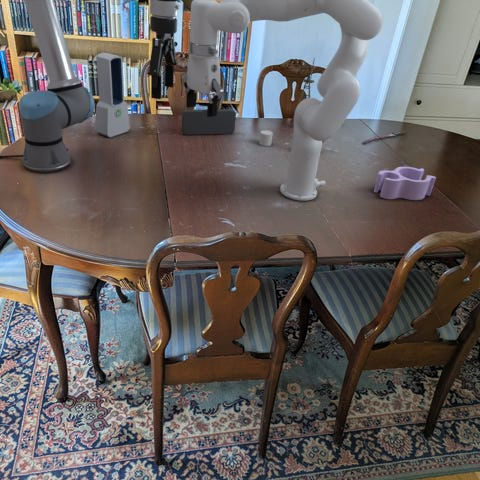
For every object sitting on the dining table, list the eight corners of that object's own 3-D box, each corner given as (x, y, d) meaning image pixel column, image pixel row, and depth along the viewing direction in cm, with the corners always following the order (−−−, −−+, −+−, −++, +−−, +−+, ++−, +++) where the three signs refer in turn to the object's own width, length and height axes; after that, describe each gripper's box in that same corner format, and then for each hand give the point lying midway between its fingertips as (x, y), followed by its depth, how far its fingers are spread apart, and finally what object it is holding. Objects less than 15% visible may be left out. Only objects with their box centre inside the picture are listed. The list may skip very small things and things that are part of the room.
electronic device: (108, 138, 183) (103, 58, 167) (94, 133, 186) (88, 54, 170) (130, 130, 192) (127, 54, 176) (117, 126, 195) (113, 50, 179)
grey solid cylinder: (272, 146, 193) (274, 134, 190) (260, 145, 192) (262, 134, 189) (269, 141, 197) (270, 130, 195) (257, 141, 196) (259, 130, 194)
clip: (387, 202, 158) (392, 184, 155) (367, 186, 168) (372, 168, 164) (434, 198, 165) (441, 180, 161) (413, 182, 174) (419, 165, 171)
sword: (401, 132, 223) (402, 129, 222) (407, 134, 221) (407, 131, 220) (358, 143, 207) (358, 140, 206) (363, 145, 205) (364, 143, 204)
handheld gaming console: (232, 131, 203) (234, 108, 197) (234, 133, 201) (236, 110, 195) (181, 132, 196) (181, 109, 190) (182, 135, 194) (183, 111, 188)
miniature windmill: (308, 129, 214) (320, 61, 198) (290, 126, 215) (300, 58, 199) (310, 123, 222) (321, 57, 206) (292, 120, 223) (302, 54, 207)
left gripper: (164, 24, 120) (163, 105, 132) (187, 12, 141) (184, 83, 153) (136, 20, 121) (137, 101, 132) (163, 9, 142) (162, 80, 153)
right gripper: (234, 55, 125) (230, 118, 134) (195, 42, 135) (193, 101, 144) (213, 57, 120) (210, 122, 129) (173, 44, 130) (173, 105, 140)
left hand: (162, 92), depth 143 cm, fingers open, 13 cm apart
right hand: (201, 111), depth 137 cm, fingers open, 9 cm apart
